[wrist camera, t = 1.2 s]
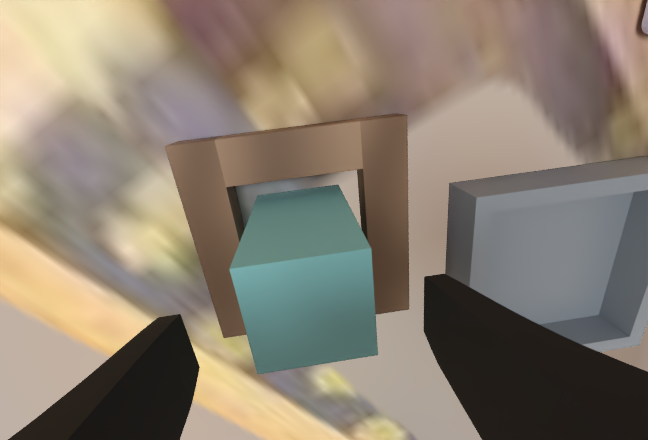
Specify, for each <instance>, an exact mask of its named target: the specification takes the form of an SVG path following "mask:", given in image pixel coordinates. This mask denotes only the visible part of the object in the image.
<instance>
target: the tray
mask: <svg viewBox="0 0 648 440" xmlns="http://www.w3.org/2000/svg"><path fill="white" fill-rule="evenodd" d="M446 250H447V251H446V273H445V274H446V275H448V276H450V277H452V278H454V279H456V280H458V281H459V282H461V283H463V284H465V285H467V286H468V287H470V288H472V289H474V290H476V291H477V292H479V293H481V294H483V295H484V296H486V297H488V298H490V299H492V300H493V301H495V302H497V303H499V304H501V305H503V306H504V307H506V308H508V309H510V310H512V311H514V312H516V313H518V314H519V315H521V316H523V317H525V318H527V319H529V320H531V321H533V322H535V323H537V324H539V325H541V326H543V327H545V328H547V329H549V330H552V331H554V332H556V333H558V334H560V335H562V336H564V337H566V338H568V339H570V340H573V341H575V342H577V343H579V344H581V345H584V346H586V347H588V348H591V349H593V350H596V351H598V352H602V351H608V350H614V349H619V348H625V347H632V346H637V345H639V344H640V342H641V339H642V336H643V333H644V330H645V328H646V325H647V322H648V156H642V157H634V158H627V159H620V160H613V161H606V162H598V163H591V164H584V165H577V166H570V167H562V168H555V169H548V170H541V171H534V172H526V173H519V174H512V175H504V176H497V177H490V178H483V179H476V180H468V181H461V182H454V183H450V184H449V204H448V228H447V249H446Z"/></svg>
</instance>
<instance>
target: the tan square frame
mask: <svg viewBox="0 0 648 440" xmlns="http://www.w3.org/2000/svg"><path fill="white" fill-rule="evenodd" d="M407 147H408V141H407V115H402V114H390V115H382V116H374V117H366V118H359V119H351V120H343V121H335V122H327V123H319V124H312V125H304V126H296V127H288V128H280V129H272V130H265V131H257V132H249V133H241V134H233V135H226V136H218V137H210V138H202V139H194V140H186V141H179V142H175V143H172V144H170V145H167V146H165V150H166V153H167V156H168V159H169V162H170V166H171V169H172V172H173V175H174V179H175V182H176V185H177V188H178V192H179V195H180V198H181V201H182V204H183V208H184V211H185V214H186V217H187V221H188V224H189V227H190V230H191V234H192V237H193V240H194V243H195V246H196V250H197V253H198V256H199V259H200V263H201V266H202V269H203V272H204V276H205V279H206V282H207V285H208V288H209V292H210V295H211V298H212V301H213V305H214V308H215V311H216V314H217V318H218V321H219V324H220V327H221V330H222V334H223V337H224V338H227V337H234V336H240V335H246V334H247V333H246V329H245V325H244V322H243V318H242V314H241V311H240V307H239V303H238V299H237V296H236V292H235V288H234V285H233V281H232V277H231V273H230V270H229V269H230V266H231V263H232V261H233V258H234V256H235V253H236V251H237V248H238V245H239V243H240V240H241V238H242V235H243V233H244V230H245V229H244V225H243V221H242V217H241V212H240V208H239V204H238V200H237V195H236V191H235V187H234V186H239V185H246V184H254V183H261V182H269V181H276V180H284V179H291V178H298V177H306V176H313V175H321V174H328V173H336V172H343V171H350V170H357V174H358V188H359V201H360V215H361V227H362V231H363V233H364V235H365V237H366V239H367V241H368V243H369V245H370V247H371V252H372V268H373V284H374V300H375V314H382V313H388V312H395V311H400V310H408V309H409V253H408V251H409V247H408V246H409V242H408V148H407Z"/></svg>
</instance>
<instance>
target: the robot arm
mask: <svg viewBox="0 0 648 440" xmlns="http://www.w3.org/2000/svg"><path fill="white" fill-rule="evenodd" d="M642 30H643V32H644V33H645V34H648V0H647V4H646V8H645V12H644V16H643V20H642ZM424 333H425V335H426V337H427V340H428V342H429V344H430V347H431V349H432V351H433V353H434V356H435V358H436V360H437V363H438V364H439V366H440V368H441V370H442V371H443V373H444V375H445V377H446V378H447V380H448V382H449V384H450V385H451V387H452V389H453V391H454V392H455V394H456V396H457V397H458V399H459V401H460V403H461V404H462V406H463V408H464V409H465V411H466V413H467V414H468V416H469V418H470V419H471V421H472V423H473V425H474V426H475V428H476V430H477V432H478V433H479V435H480V437H481V438H482V440H648V372H647V371H644V370H641V369H639V368H637V367H634V366H632V365H629V364H626V363H624V362H622V361H619V360H617V359H614V358H612V357H609V356H607V355H605V354H602V353H600V352H598V351H596V350H593V349H591V348H588V347H586V346H584V345H581V344H579V343H577V342H575V341H573V340H570V339H568V338H566V337H564V336H562V335H560V334H558V333H556V332H554V331H552V330H549V329H547V328H545V327H543V326H541V325H539V324H537V323H535V322H533V321H531V320H529V319H527V318H525V317H523V316H521V315H519V314H518V313H516V312H514V311H512V310H510V309H508V308H506V307H504V306H503V305H501V304H499V303H497V302H495V301H493V300H492V299H490V298H488V297H486V296H484V295H483V294H481V293H479V292H477V291H476V290H474V289H472V288H470V287H468V286H467V285H465V284H463V283H461V282H459V281H458V280H456V279H454V278H452V277H450V276H448V275H446V274H440V275H433V276H426V277H425V278H424ZM198 372H199V364H198V361H197V359H196V356H195V353H194V351H193V348H192V345H191V342H190V340H189V337H188V334H187V331H186V329H185V326H184V323H183V320H182V318H181V315H180V314H178V315H172V316H165V317H159V318H157V319H156V320H155V321H153V322H152V323H151V324H150V325H148V326H147V327H146V328H145V329H143V330H142V331H141V332H140V333H139V334H137V335H136V336H135V337H134V338H133V339H131V340H130V341H129V342H128V343H127V344H126V345H124V346H123V347H122V348H121V349H120V350H119V351H117V352H116V353H115V354H114V355H113V356H112V357H110V358H109V359H108V360H107V361H106V362H105V363H103V364H102V365H101V366H100V367H99V368H98V369H96V370H95V371H94V372H93V373H92V374H90V375H89V376H88V377H87V378H86V379H84V380H83V381H82V382H81V383H79V384H78V385H77V386H76V387H75V388H73V389H72V390H71V391H70V392H68V393H67V394H66V395H65V396H64V397H62V398H61V399H60V400H58V401H57V402H56V403H55V404H53V405H52V406H51V407H50V408H48V409H47V410H46V411H45V412H43V413H42V414H41V415H40V416H38V417H37V418H36V419H35V420H33V421H32V422H31V423H29V424H28V425H27V426H26V427H24V428H23V429H22V430H20V431H19V432H18V433H16V434H15V435H14V436H12V437H11V438H10V439H8V440H180V437H181V434H182V431H183V428H184V425H185V422H186V419H187V417H188V414H189V410H190V407H191V404H192V400H193V396H194V392H195V387H196V382H197V377H198Z"/></svg>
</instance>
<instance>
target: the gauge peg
mask: <svg viewBox="0 0 648 440" xmlns="http://www.w3.org/2000/svg"><path fill="white" fill-rule="evenodd" d="M229 270H230V273H231V277H232V281H233V285H234V288H235V292H236V296H237V299H238V303H239V307H240V311H241V314H242V318H243V322H244V325H245V329H246V333H247V337H248V340H249V344H250V348H251V351H252V355H253V359H254V362H255V366H256V370H257V374H263V373H269V372H275V371H281V370H287V369H294V368H300V367H306V366H312V365H318V364H325V363H331V362H337V361H343V360H349V359H355V358H362V357H368V356H374V355H378V348H377V332H376V316H375V300H374V284H373V268H372V252H371V247H370V245H369V243H368V241H367V239H366V237H365V235H364V233H363V231H362V230H361V228H360V226H359V224H358V222H357V220H356V218H355V216H354V214H353V212H352V210H351V209H350V207H349V205H348V203H347V201H346V199H345V197H344V195H343V193H342V191H341V189H340V187H339V185H332V186H325V187H317V188H310V189H303V190H295V191H288V192H281V193H273V194H266V195H259V196H258V197H257V199H256V202H255V204H254V207H253V209H252V212H251V215H250V217H249V220H248V222H247V225H246V227H245V230H244V233H243V235H242V238H241V240H240V243H239V245H238V248H237V251H236V253H235V256H234V258H233V261H232V263H231V266H230V269H229Z"/></svg>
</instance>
